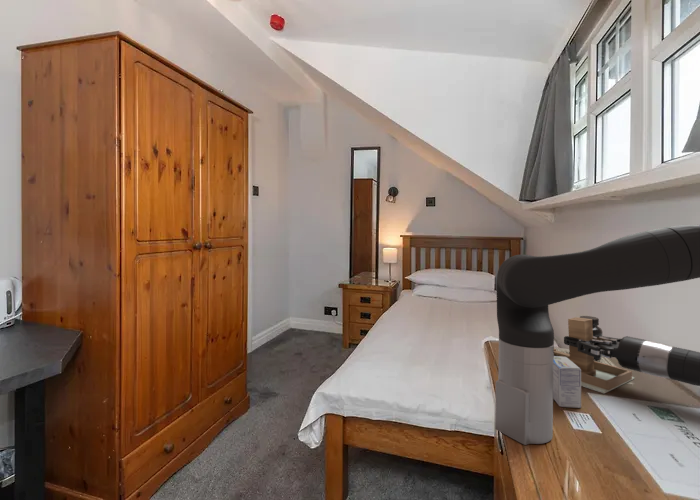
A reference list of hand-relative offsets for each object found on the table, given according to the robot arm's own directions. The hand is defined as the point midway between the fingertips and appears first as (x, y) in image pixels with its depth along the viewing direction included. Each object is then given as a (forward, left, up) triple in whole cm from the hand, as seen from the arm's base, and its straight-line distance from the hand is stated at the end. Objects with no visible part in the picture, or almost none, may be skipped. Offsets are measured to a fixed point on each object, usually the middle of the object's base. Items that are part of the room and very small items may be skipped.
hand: (569, 338), depth 95 cm
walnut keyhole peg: (0, -3, -8) cm, 9 cm away
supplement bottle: (+16, +3, -9) cm, 18 cm away
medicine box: (-19, -8, -9) cm, 23 cm away
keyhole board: (0, -2, -9) cm, 9 cm away
